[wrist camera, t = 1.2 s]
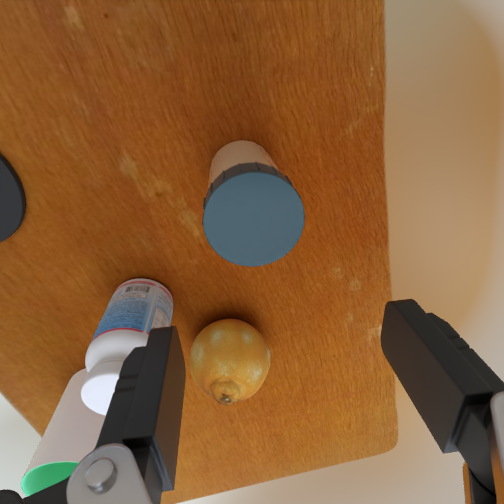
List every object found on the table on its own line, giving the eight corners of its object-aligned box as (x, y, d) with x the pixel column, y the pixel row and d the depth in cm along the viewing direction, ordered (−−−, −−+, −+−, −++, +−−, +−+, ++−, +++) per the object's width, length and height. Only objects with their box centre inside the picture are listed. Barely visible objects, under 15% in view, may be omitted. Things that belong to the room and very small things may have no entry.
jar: (205, 143, 26) (198, 177, 18) (273, 137, 27) (300, 167, 18) (213, 208, 29) (212, 265, 20) (275, 202, 29) (300, 255, 21)
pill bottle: (104, 311, 33) (56, 410, 23) (127, 266, 31) (85, 354, 21) (159, 332, 35) (137, 431, 25) (185, 291, 33) (171, 383, 23)
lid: (196, 166, 19) (194, 176, 17) (297, 156, 19) (306, 166, 17) (209, 254, 22) (209, 272, 20) (297, 244, 22) (305, 261, 20)
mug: (163, 421, 42) (148, 516, 33) (104, 436, 43) (74, 534, 34) (121, 358, 36) (90, 452, 27) (54, 376, 37) (1, 475, 28)
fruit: (176, 380, 36) (214, 436, 30) (175, 317, 32) (217, 366, 27) (238, 353, 40) (281, 397, 35) (242, 296, 37) (290, 334, 31)
